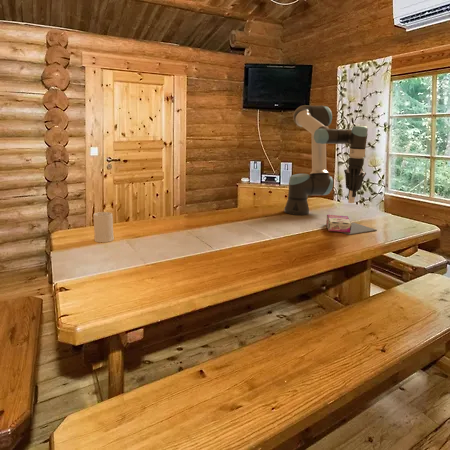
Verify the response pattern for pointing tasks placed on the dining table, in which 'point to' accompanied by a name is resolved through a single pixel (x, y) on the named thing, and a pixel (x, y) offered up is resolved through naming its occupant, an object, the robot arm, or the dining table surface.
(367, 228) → the rubber mat
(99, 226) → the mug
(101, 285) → the dining table surface
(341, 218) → the candy bar box
